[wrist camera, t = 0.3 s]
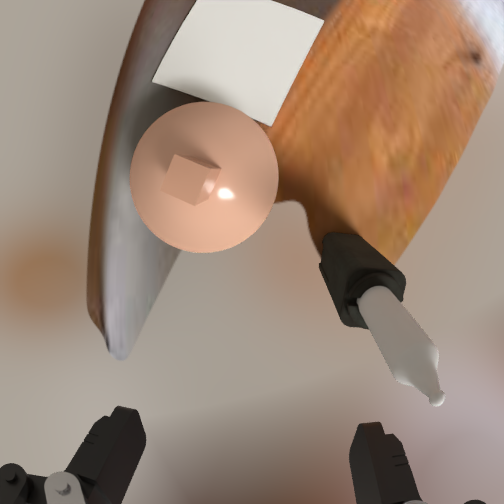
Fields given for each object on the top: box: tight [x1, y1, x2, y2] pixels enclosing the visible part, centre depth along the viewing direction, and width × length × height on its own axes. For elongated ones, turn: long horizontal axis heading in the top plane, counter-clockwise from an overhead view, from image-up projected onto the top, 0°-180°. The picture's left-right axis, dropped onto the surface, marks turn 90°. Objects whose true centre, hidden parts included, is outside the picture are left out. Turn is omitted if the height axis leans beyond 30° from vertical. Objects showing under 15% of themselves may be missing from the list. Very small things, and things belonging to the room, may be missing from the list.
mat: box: [152, 0, 324, 127], centre depth 29 cm, size 15×15×1 cm
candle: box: [319, 232, 445, 406], centre depth 23 cm, size 5×5×25 cm
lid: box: [130, 102, 279, 253], centre depth 25 cm, size 14×14×6 cm
